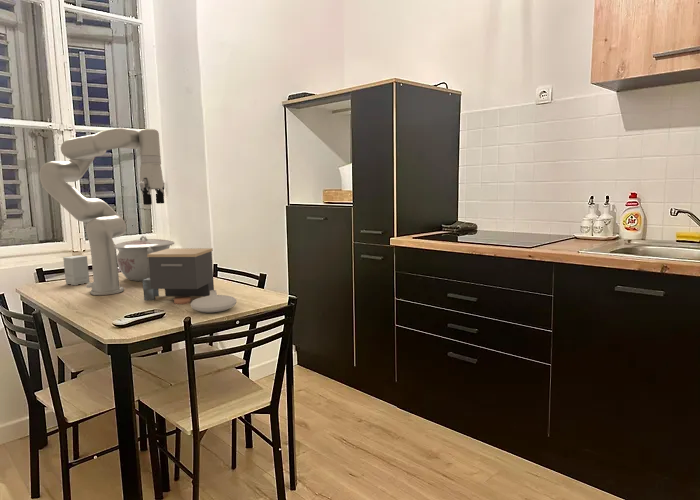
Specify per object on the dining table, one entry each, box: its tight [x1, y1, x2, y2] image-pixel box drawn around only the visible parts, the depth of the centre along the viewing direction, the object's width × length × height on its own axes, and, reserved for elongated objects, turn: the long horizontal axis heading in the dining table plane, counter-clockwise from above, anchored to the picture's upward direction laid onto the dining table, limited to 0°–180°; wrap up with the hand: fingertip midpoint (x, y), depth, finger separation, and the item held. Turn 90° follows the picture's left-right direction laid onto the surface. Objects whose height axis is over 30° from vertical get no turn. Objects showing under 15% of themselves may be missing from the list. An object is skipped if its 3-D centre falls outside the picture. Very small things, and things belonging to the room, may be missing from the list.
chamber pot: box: [115, 235, 175, 282], centre depth 237 cm, size 28×28×21 cm
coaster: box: [173, 296, 192, 305], centre depth 189 cm, size 6×6×2 cm
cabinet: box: [147, 247, 215, 297], centre depth 191 cm, size 19×16×19 cm
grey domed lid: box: [190, 289, 237, 314], centre depth 176 cm, size 16×16×7 cm
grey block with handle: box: [142, 278, 203, 301], centre depth 194 cm, size 23×4×8 cm, turn 82°
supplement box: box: [63, 255, 90, 286], centre depth 229 cm, size 7×7×13 cm
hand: (154, 203), depth 201 cm, fingers open, 9 cm apart
